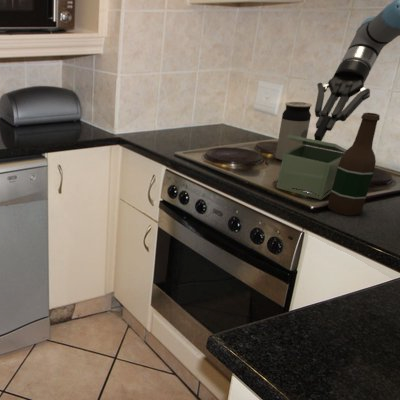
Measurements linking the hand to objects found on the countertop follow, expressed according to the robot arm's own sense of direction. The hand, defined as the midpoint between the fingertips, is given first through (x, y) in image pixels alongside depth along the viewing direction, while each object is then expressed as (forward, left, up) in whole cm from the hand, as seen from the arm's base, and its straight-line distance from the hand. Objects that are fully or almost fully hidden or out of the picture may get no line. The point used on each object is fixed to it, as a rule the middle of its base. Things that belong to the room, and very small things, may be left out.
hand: (317, 138), depth 126 cm
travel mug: (+20, -20, -14) cm, 32 cm away
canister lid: (0, -1, -2) cm, 3 cm away
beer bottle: (-14, +4, -15) cm, 20 cm away
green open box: (0, -2, -14) cm, 14 cm away
